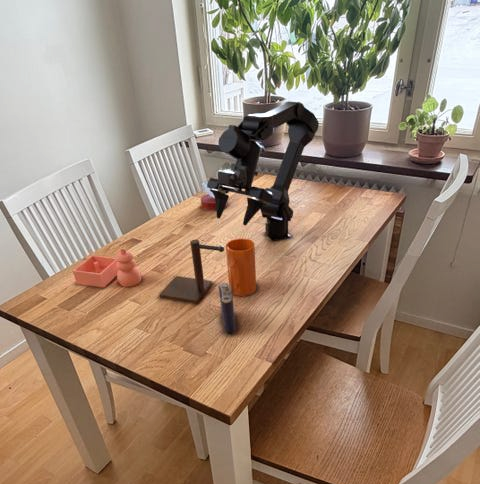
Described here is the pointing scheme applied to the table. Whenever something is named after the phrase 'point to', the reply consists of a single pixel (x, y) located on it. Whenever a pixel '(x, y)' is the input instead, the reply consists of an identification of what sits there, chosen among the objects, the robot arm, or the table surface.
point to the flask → (227, 308)
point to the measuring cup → (241, 266)
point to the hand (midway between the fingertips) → (231, 221)
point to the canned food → (208, 199)
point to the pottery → (108, 270)
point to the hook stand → (190, 279)
